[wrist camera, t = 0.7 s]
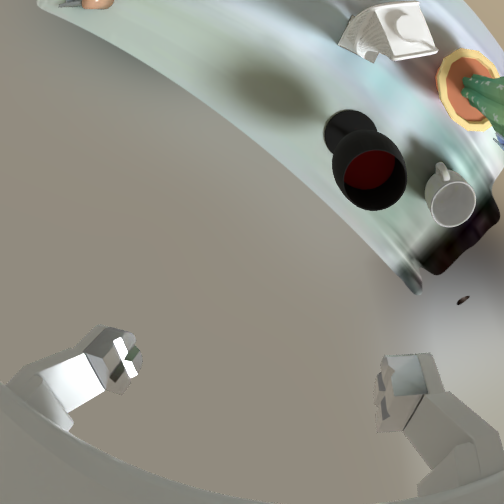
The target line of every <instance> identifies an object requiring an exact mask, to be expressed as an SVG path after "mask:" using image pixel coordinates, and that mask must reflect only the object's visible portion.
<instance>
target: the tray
mask: <svg viewBox="0 0 504 504" xmlns="http://www.w3.org/2000/svg"><path fill="white" fill-rule="evenodd" d="M75 6H82V0H66V1H65V3H63V4H59V7H75Z"/></svg>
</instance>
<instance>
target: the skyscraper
mask: <svg viewBox="0 0 504 504" xmlns="http://www.w3.org/2000/svg"><path fill="white" fill-rule="evenodd" d="M419 3H420V2H418V1H416V0H414V1H397V2H388V3H382V4H378V5H374V6H372V7H369V8H367V9H365V10H364V11H362V12H361V13H359V14H358V15H357V16H356V17H355V16H353V15H352V16H351V18H350V20H349V22H348V24H347V27H346V29H345V31H344V33H343V35H342V37H341V39H340V41H339V43H338V46H340V47H342V48H345V49H347V50H349V51H351V52H353V53H355V54H357V55H359V56H360V57H362V58H364V59H366V60H368V61H370V62H372V63H374V62H375V60H376V58H377V56H378V54H379V53H381V54H384V55H386V56H388V57H389V58H390V59H391V60H392V61H394V62H395V61H397V60H404V59H410V58H416V57H421V56H427V55H432V54H436V53H437V52H438V49H437V48H436V47H435V44H434V42H433V39H432V36H431V33H430V31H429V28H428V26H427V23H426V21H425V19H424V16H423V14H422V12H421V9H420V7H419Z"/></svg>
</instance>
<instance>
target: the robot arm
mask: <svg viewBox="0 0 504 504" xmlns="http://www.w3.org/2000/svg"><path fill="white" fill-rule="evenodd" d="M135 343H136V339H135V337H134V334H133V333H131V332H128V331H124V330H120V329H116V328H112V327H108V326H104V325H97V326H95V327H94V328H93V329H92V330H91V331H90V332H89V333H88V334H87V335H86V336H85V337H84V338H83V339H82V340H81V341H80V342H79V343H78V344H77V345H76V346H75V347H74V348H73V349H72V348H68V349H66V350H63V351H61V352H58V353H56V354H53V355H51V356H48V357H46V358H43V359H40V360H38V361H35V362H33V363H30V364H28V365H25V366H23V367H22V368H21V369H20V370H19V372H18V373H16V375H15V376H14V377H13V378H12V379H11V380H10V381H9V382H8V383H7V384H6V385H4V384H3V383H2V382H1V381H0V504H281V503H272V502H264V501H257V500H250V499H244V498H239V497H234V496H229V495H224V494H220V493H215V492H211V491H207V490H203V489H200V488H196V487H192V486H188V485H186V484H182V483H179V482H176V481H173V480H170V479H167V478H164V477H161V476H159V475H156V474H153V473H151V472H148V471H145V470H143V469H140V468H138V467H136V466H133V465H131V464H129V463H126V462H124V461H122V460H120V459H118V458H115V457H113V456H111V455H109V454H107V453H105V452H103V451H101V450H99V449H98V448H96V447H94V446H92V445H90V444H88V443H86V442H85V441H83V440H81V439H79V438H78V437H76V436H74V435H73V434H71V433H69V432H68V431H69V429H70V428H71V427H72V425H73V424H74V422H73V419H72V418H71V417H70V416H69V414H68V412H70V411H72V410H73V409H75V408H77V407H78V406H80V405H82V404H83V403H85V402H87V401H88V400H90V399H92V398H93V397H95V396H97V395H98V394H100V393H101V392H103V391H105V390H108V391H111V392H113V393H116V394H119V395H123V394H124V392H125V391H126V389H127V388H128V387H129V385H130V384H131V377H133V376H135V375H137V374H138V372H139V371H140V369H141V366H142V362H143V361H142V354H141V352H140V350H139V349H138V348H137V347H136V346H135ZM380 366H381V372H380V373H379V374H378V375H377V377H376V381H375V385H374V404H375V405H376V406H377V407H378V410H377V412H376V415H375V418H376V428H377V429H376V430H377V433H378V432H396V431H403V433H404V435H405V436H406V437H407V439H408V440H409V441H410V443H411V444H412V445H413V447H414V448H415V449H416V451H417V452H418V453H419V454H420V456H421V457H422V458H423V459H424V461H425V462H426V464H427V465H428V466H429V467H430V469H431V470H432V471H431V472H430V473H429V474H428V475H427V476H426V477H424V478H423V479H422V480H421V481H420V482H419V483H418V484H417V487H418V488H417V489H418V497H416V498H410V499H405V500H399V501H392V502H384V503H375V504H504V450H503V447H502V443H501V440H500V436H499V433H498V431H496V430H495V429H494V428H493V427H492V426H490V425H489V424H488V423H487V422H486V421H485V420H483V419H482V418H481V417H480V416H479V415H477V414H476V413H475V412H474V411H472V410H471V409H470V408H469V407H467V406H466V405H465V404H464V403H463V402H461V401H460V400H459V399H458V398H457V397H456V396H454V395H453V394H452V393H451V392H445V390H444V387H443V384H442V381H441V378H440V375H439V372H438V369H437V367H436V364H435V361H434V359H433V356H432V354H430V353H421V354H408V355H389V356H388V355H387V356H384V357H383V359H382V361H381V365H380ZM104 389H105V390H104Z"/></svg>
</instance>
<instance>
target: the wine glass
mask: <svg viewBox="0 0 504 504" xmlns="http://www.w3.org/2000/svg"><path fill="white" fill-rule="evenodd" d="M325 140H326V144H327V146H328V148H329V150H330V151H331V152H332V153H333V159H332V169H333V175H334V178H335V181H336V183H337V185H338V187H339V188H340V190H341V191H342V193H343V194H344V195H345V197H346V198H347V199H348V200H350V201H351V202H352V203H353V204H354V205H356V206H357V207H359V208H362V209H365V210H370V211H377V210H383V209H386V208H388V207H390V206H392V205H393V204H395V203H396V202H397V201H398V200H399V199H400V198H401V196H402V195H403V193H404V191H405V188H406V184H407V171H406V166H405V162H404V159H403V157H402V154H401V152H400V151H399V149H398V148H397V146H396V145H395V144H394V143H393V142H392V141H391V140H390V139H389V138H388V137H386V136H385V135H383V134H381V133H379V132H377V129H376V127H375V124H374V123H373V122H372V120H371V119H370V118H369V117H367V116H366V115H365V114H363V113H360V112H358V111H344V112H340V113H338V114H336V115H335V116H334V117H333V118H332V119H331V120H330V121H329V122H328V124H327V126H326V130H325Z"/></svg>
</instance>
